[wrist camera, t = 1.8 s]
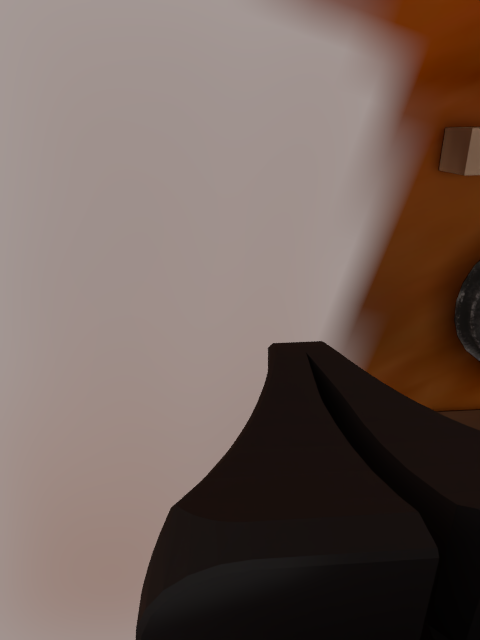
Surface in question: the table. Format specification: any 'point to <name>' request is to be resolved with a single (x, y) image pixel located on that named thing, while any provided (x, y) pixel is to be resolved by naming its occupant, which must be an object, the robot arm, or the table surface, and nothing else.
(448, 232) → the table surface
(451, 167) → the guide channel
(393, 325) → the table surface
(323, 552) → the robot arm
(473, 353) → the grey stone finial
